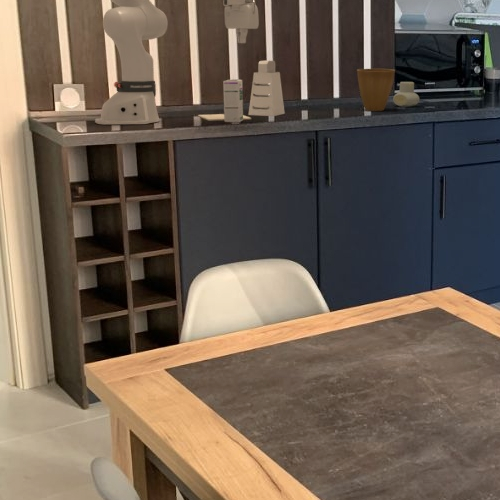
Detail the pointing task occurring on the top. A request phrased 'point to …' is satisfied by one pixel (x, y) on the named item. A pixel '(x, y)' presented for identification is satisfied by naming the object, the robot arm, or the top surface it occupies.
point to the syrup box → (233, 100)
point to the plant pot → (375, 87)
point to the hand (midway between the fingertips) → (241, 43)
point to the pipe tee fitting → (406, 95)
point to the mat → (217, 117)
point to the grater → (266, 91)
